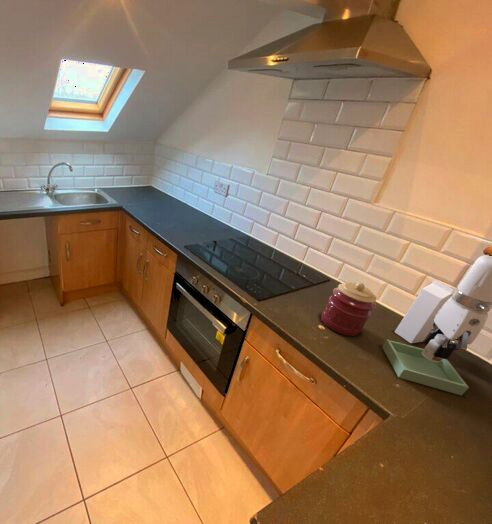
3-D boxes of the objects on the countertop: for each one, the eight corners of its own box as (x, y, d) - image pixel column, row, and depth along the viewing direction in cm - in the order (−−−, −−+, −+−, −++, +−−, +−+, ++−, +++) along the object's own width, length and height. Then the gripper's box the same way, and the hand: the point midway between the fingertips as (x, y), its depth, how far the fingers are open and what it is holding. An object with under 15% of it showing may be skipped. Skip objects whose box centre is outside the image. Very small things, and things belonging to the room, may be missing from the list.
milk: (410, 343, 103) (448, 290, 92) (393, 331, 108) (427, 280, 97) (423, 341, 104) (461, 289, 94) (405, 330, 109) (440, 279, 99)
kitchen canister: (345, 340, 101) (369, 297, 92) (312, 316, 111) (331, 276, 103) (368, 332, 106) (393, 291, 98) (335, 310, 116) (355, 271, 108)
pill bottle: (435, 364, 87) (450, 344, 83) (418, 354, 90) (431, 334, 87) (443, 360, 88) (458, 341, 85) (426, 350, 92) (439, 331, 88)
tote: (436, 361, 96) (442, 354, 94) (461, 395, 84) (469, 387, 83) (381, 346, 100) (386, 339, 98) (398, 377, 88) (404, 369, 87)
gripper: (512, 322, 72) (467, 376, 80) (469, 288, 86) (435, 336, 94) (474, 314, 73) (434, 367, 82) (438, 281, 88) (407, 330, 96)
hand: (435, 350), depth 88 cm, fingers closed on pill bottle, 4 cm apart
